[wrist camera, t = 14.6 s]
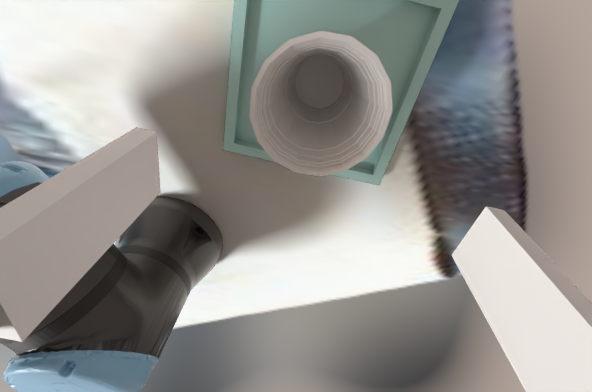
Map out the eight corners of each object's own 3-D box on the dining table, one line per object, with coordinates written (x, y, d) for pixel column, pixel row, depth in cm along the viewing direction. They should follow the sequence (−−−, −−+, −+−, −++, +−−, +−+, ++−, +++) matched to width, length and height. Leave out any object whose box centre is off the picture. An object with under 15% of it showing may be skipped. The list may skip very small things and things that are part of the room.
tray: (376, 177, 38) (379, 185, 36) (227, 143, 37) (223, 150, 35) (452, -3, 27) (461, -4, 25) (244, -57, 26) (238, -62, 24)
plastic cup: (366, 130, 34) (385, 179, 24) (276, 131, 35) (257, 178, 25) (376, 23, 28) (407, 27, 18) (268, 28, 29) (238, 34, 19)
